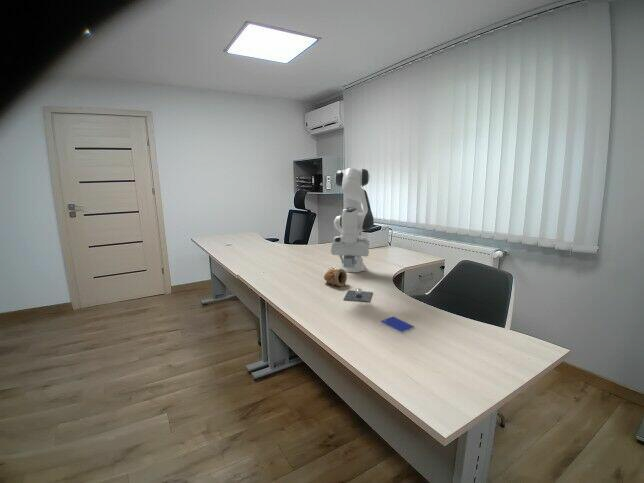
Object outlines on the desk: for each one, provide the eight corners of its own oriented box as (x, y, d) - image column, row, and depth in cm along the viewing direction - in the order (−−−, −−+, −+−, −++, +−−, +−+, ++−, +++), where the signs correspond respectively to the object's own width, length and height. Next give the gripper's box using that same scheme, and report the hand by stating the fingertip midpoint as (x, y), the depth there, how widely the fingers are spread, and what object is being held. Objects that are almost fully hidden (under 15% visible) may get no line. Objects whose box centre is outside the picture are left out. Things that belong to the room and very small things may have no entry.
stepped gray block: (346, 264, 182) (346, 253, 181) (357, 264, 181) (357, 254, 179) (341, 269, 173) (341, 258, 171) (353, 270, 171) (353, 258, 170)
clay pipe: (323, 293, 198) (346, 287, 193) (317, 276, 196) (340, 271, 191) (330, 282, 215) (352, 277, 210) (325, 267, 214) (346, 261, 209)
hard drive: (380, 320, 149) (401, 331, 139) (393, 316, 153) (414, 325, 143) (380, 324, 149) (401, 334, 139) (393, 319, 153) (414, 329, 144)
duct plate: (348, 291, 189) (348, 284, 189) (372, 293, 186) (372, 286, 185) (343, 300, 176) (343, 293, 175) (369, 302, 173) (369, 295, 172)
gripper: (370, 237, 174) (369, 262, 177) (333, 236, 180) (333, 260, 183) (368, 240, 168) (368, 266, 171) (330, 238, 174) (330, 263, 177)
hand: (349, 263), depth 177 cm, fingers closed on stepped gray block, 6 cm apart
